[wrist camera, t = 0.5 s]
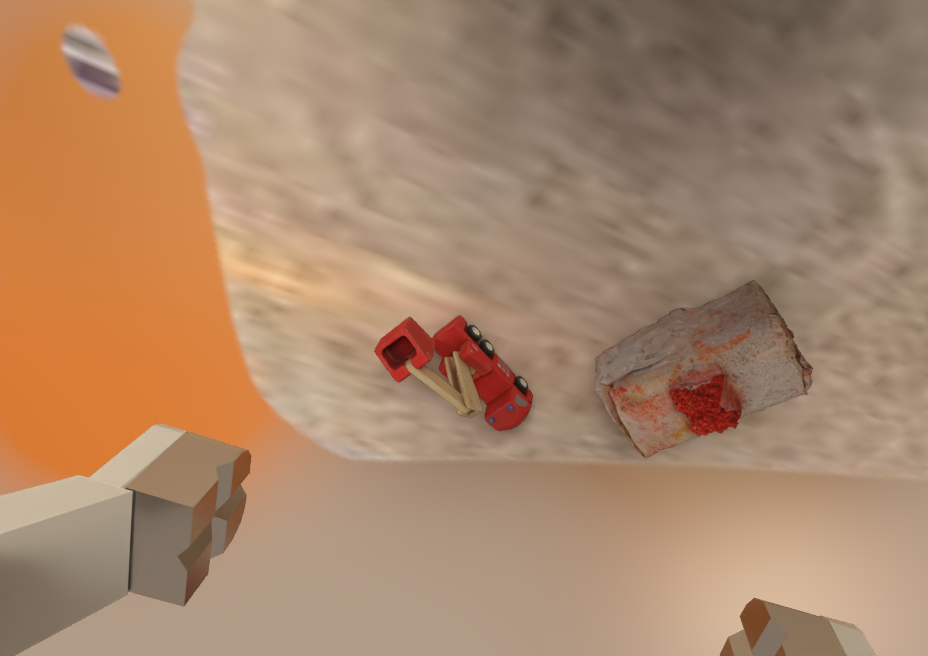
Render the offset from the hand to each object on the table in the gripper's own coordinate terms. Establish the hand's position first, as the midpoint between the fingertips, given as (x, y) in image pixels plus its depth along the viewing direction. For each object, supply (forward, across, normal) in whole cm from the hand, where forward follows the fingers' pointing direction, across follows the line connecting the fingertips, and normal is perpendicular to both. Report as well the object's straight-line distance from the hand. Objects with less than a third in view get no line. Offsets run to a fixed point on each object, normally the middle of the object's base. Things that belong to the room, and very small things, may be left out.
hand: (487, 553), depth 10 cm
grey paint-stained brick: (+40, -15, +8) cm, 44 cm away
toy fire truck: (+41, +2, +14) cm, 44 cm away
